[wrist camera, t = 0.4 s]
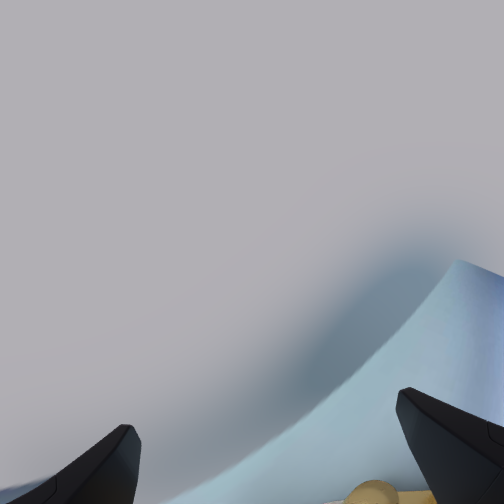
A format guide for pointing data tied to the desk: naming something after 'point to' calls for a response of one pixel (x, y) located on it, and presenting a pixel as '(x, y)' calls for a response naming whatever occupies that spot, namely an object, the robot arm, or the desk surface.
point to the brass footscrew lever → (387, 495)
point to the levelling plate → (335, 502)
